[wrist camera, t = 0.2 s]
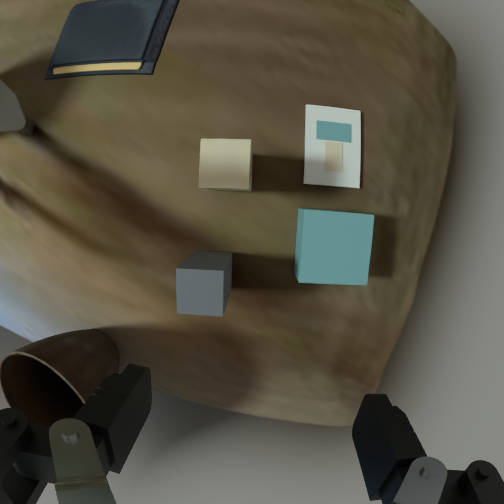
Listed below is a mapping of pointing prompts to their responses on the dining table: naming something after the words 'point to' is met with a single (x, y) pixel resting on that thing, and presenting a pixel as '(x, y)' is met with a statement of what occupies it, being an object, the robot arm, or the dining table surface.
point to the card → (332, 146)
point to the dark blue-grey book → (112, 38)
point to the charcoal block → (204, 283)
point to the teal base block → (333, 247)
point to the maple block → (226, 164)
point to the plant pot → (57, 374)
